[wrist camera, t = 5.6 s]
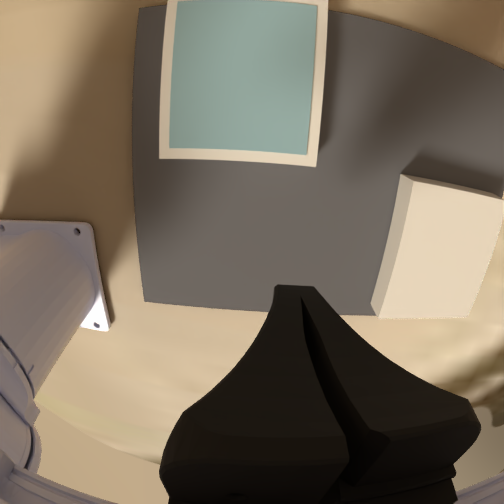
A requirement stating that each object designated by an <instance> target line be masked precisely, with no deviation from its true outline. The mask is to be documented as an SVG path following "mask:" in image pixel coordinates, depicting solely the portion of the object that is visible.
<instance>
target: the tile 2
mask: <svg viewBox="0 0 504 504" xmlns="http://www.w3.org/2000/svg"><path fill="white" fill-rule="evenodd" d="M503 217H504V199H502V198H500V197H499V196H497V195H495V194H493V193H490V192H486V191H482V190H477V189H473V188H469V187H465V186H460V185H456V184H451V183H446V182H441V181H437V180H431V179H426V178H421V177H416V176H410V175H405V174H400V180H399V186H398V191H397V196H396V202H395V207H394V212H393V216H392V221H391V226H390V230H389V235H388V239H387V243H386V247H385V252H384V256H383V260H382V263H381V267H380V271H379V275H378V279H377V282H376V286H375V289H374V293H373V296H372V300H371V303H370V304H371V306H372V308H373V310H374V312H375V314H376V316H377V318H378V319H433V318H462V317H468V315H469V313H470V311H471V308H472V306H473V304H474V302H475V299H476V297H477V294H478V292H479V289H480V287H481V284H482V282H483V279H484V276H485V274H486V271H487V268H488V266H489V263H490V260H491V257H492V254H493V251H494V248H495V245H496V242H497V238H498V235H499V232H500V228H501V225H502V221H503Z"/></svg>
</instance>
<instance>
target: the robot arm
mask: <svg viewBox="0 0 504 504" xmlns="http://www.w3.org/2000/svg"><path fill="white" fill-rule="evenodd" d="M77 228H78V229H79V230H80V232H81V233H79V232H78V231H77ZM96 322H97V323H98V324H97V323H96ZM79 327H83V328H89V329H94V330H100V331H108V330H109V329H110V327H111V323H110V319H109V314H108V310H107V305H106V301H105V296H104V291H103V286H102V281H101V276H100V270H99V265H98V259H97V253H96V246H95V239H94V232H93V228H92V226H91V225H90V224H89V223H86V222H66V221H35V220H0V504H117V503H113V502H109V501H106V500H103V499H100V498H96V497H93V496H90V495H88V494H84V493H82V492H79V491H76V490H74V489H71V488H68V487H66V486H63V485H61V484H58V483H56V482H53V481H51V480H48V479H46V478H44V477H42V476H39V475H37V474H36V473H37V470H38V468H39V464H40V460H41V441H40V436H39V434H38V432H37V430H36V428H35V427H34V425H33V424H34V422H35V421H36V419H37V417H38V415H39V413H40V410H39V409H38V407H37V406H36V404H35V403H34V400H33V399H34V398H35V396H36V394H37V392H38V391H39V389H40V387H41V386H42V384H43V382H44V381H45V379H46V377H47V376H48V374H49V373H50V371H51V369H52V368H53V366H54V365H55V363H56V361H57V360H58V358H59V357H60V355H61V354H62V352H63V351H64V349H65V347H66V346H67V344H68V343H69V341H70V340H71V338H72V337H73V335H74V334H75V332H76V331H77V329H78V328H79ZM480 431H481V424H480V422H479V420H478V418H477V416H476V414H475V412H474V410H473V408H472V406H471V404H470V402H469V400H468V399H466V398H463V397H461V396H458V395H455V394H453V393H450V392H448V391H445V390H443V389H440V388H438V387H436V386H434V385H432V384H430V383H428V382H426V381H424V380H422V379H420V378H418V377H417V376H415V375H413V374H411V373H409V372H408V371H406V370H405V369H403V368H402V367H400V366H398V365H397V364H395V363H394V362H392V361H391V360H389V359H388V358H387V357H385V356H384V355H382V354H381V353H380V352H379V351H377V350H376V349H375V348H374V347H372V346H371V345H370V344H369V343H367V342H366V341H365V340H364V339H363V338H362V337H361V336H360V335H358V334H357V333H356V332H355V331H354V330H353V329H352V328H351V327H350V326H349V325H348V324H347V323H346V322H345V321H344V320H343V319H342V318H341V317H340V316H339V315H338V313H337V312H336V311H335V310H334V309H333V308H332V307H331V306H330V304H329V303H328V302H327V301H326V300H325V299H324V298H323V296H322V295H321V294H320V293H319V292H318V290H317V289H316V288H315V287H314V286H299V285H281V284H278V285H276V286H275V287H274V293H273V302H272V305H271V308H270V311H269V313H268V315H267V318H266V320H265V322H264V324H263V326H262V328H261V330H260V331H259V333H258V335H257V337H256V338H255V340H254V342H253V343H252V345H251V346H250V348H249V349H248V350H247V352H246V353H245V355H244V356H243V357H242V358H241V360H240V361H239V362H238V363H237V364H236V366H235V367H234V368H233V369H232V370H231V371H230V372H229V373H228V374H227V375H226V376H225V377H224V378H223V379H222V380H221V381H220V382H219V383H218V384H217V385H216V386H215V387H214V388H213V389H212V390H211V391H210V392H209V393H207V394H206V395H205V396H204V397H202V398H201V399H200V400H198V401H197V402H196V403H194V404H193V405H192V406H190V407H189V408H188V409H187V410H185V411H184V412H183V413H182V415H181V416H180V418H179V420H178V421H177V423H176V425H175V427H174V429H173V430H172V432H171V434H170V436H169V439H168V441H167V443H166V446H165V449H164V452H163V456H162V460H161V465H160V469H159V475H160V479H161V481H162V483H163V485H164V487H165V489H166V491H167V493H168V495H169V502H168V504H504V471H503V472H501V473H499V474H497V475H495V476H493V477H491V478H488V479H486V480H484V481H481V482H479V483H477V484H474V485H472V486H469V487H467V488H464V489H462V490H459V491H455V489H454V485H453V482H452V479H451V478H454V477H455V476H456V470H455V468H454V465H453V464H454V463H455V462H456V461H457V460H458V459H459V458H460V457H461V456H462V455H463V454H464V453H465V452H466V451H467V450H468V449H469V448H470V447H471V446H472V445H473V443H474V442H475V441H476V439H477V437H478V435H479V433H480Z"/></svg>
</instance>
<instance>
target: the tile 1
mask: <svg viewBox="0 0 504 504" xmlns="http://www.w3.org/2000/svg"><path fill="white" fill-rule="evenodd" d="M327 21H328V0H168V2H167V11H166V20H165V30H164V42H163V55H162V70H161V90H160V121H159V159H205V160H230V161H248V162H264V163H277V164H289V165H300V166H310V167H316V163H317V154H318V144H319V134H320V123H321V112H322V100H323V88H324V74H325V59H326V42H327Z"/></svg>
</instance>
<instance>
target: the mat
mask: <svg viewBox="0 0 504 504" xmlns="http://www.w3.org/2000/svg"><path fill="white" fill-rule="evenodd" d="M166 11H167V5H160V6H152V7H145V8H139V16H138V25H137V35H136V46H135V59H134V76H133V101H132V161H133V187H134V205H135V219H136V232H137V243H138V253H139V262H140V271H141V279H142V287H143V294H144V301H145V302H153V303H162V304H172V305H183V306H193V307H205V308H217V309H230V310H244V311H260V312H269V311H270V308H271V305H272V302H273V293H274V287H275V286H276V285H278V284H281V285H299V286H314V287H315V288H316V289H317V290H318V292H319V293H320V294H321V295H322V296H323V298H324V299H325V300H326V301H327V302H328V303H329V304H330V306H331V307H332V308H333V309H334V310H335V311H336V312H337V313H338V315H368V316H376V314H375V312H374V310H373V308H372V306H371V304H370V303H371V300H372V296H373V293H374V289H375V286H376V282H377V279H378V275H379V271H380V267H381V263H382V260H383V256H384V252H385V247H386V243H387V239H388V235H389V230H390V226H391V221H392V216H393V212H394V207H395V202H396V196H397V191H398V186H399V180H400V174H405V175H410V176H416V177H421V178H426V179H431V180H437V181H441V182H446V183H451V184H456V185H460V186H465V187H469V188H473V189H477V190H482V191H486V192H490V193H493V194H495V195H497V196H499V197H500V198H502V196H503V191H504V70H503V69H502V68H500V67H498V66H496V65H494V64H492V63H490V62H488V61H486V60H484V59H482V58H480V57H478V56H476V55H473V54H471V53H469V52H467V51H464V50H462V49H460V48H458V47H455V46H453V45H450V44H448V43H445V42H443V41H440V40H438V39H435V38H432V37H429V36H427V35H424V34H421V33H418V32H415V31H412V30H409V29H406V28H402V27H399V26H396V25H392V24H389V23H385V22H381V21H377V20H373V19H369V18H365V17H361V16H356V15H352V14H347V13H342V12H336V11H331V10H328V21H327V42H326V59H325V74H324V88H323V100H322V112H321V123H320V134H319V144H318V154H317V163H316V167H310V166H300V165H289V164H277V163H264V162H248V161H230V160H205V159H159V121H160V90H161V70H162V55H163V42H164V30H165V20H166Z"/></svg>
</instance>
